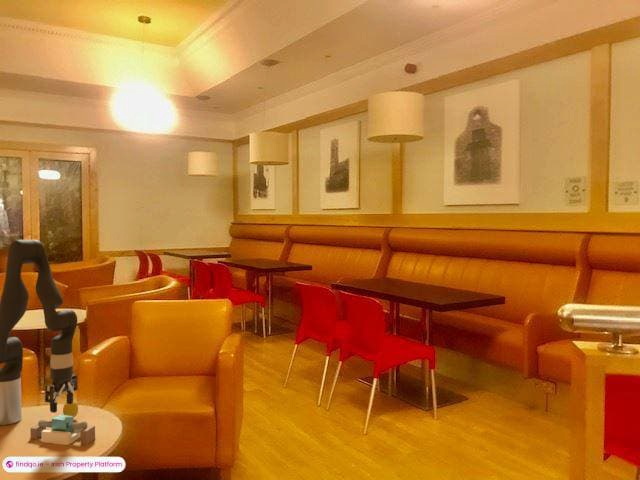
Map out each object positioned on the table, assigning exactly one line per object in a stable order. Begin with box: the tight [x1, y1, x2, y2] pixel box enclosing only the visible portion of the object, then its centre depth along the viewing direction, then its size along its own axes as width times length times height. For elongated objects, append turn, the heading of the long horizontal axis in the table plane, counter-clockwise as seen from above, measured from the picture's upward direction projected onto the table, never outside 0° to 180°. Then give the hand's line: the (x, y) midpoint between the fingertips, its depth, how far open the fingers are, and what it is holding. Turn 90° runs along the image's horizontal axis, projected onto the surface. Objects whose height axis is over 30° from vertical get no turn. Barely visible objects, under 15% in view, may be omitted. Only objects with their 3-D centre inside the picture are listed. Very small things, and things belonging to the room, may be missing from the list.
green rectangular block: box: [51, 414, 74, 433], centre depth 194 cm, size 6×4×6 cm, turn 78°
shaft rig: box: [29, 419, 96, 446], centre depth 194 cm, size 23×9×7 cm, turn 78°
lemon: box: [62, 400, 79, 419], centre depth 211 cm, size 6×6×8 cm
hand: (61, 407), depth 193 cm, fingers open, 8 cm apart
